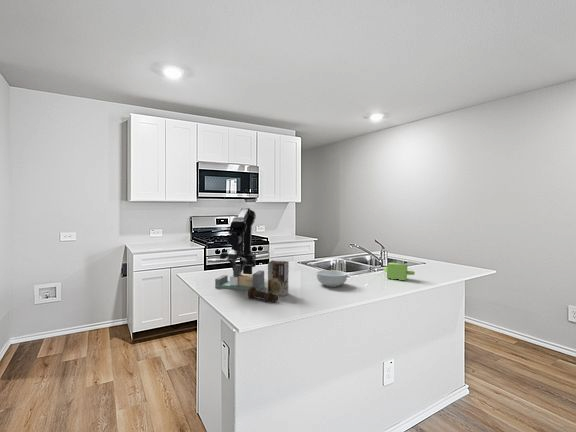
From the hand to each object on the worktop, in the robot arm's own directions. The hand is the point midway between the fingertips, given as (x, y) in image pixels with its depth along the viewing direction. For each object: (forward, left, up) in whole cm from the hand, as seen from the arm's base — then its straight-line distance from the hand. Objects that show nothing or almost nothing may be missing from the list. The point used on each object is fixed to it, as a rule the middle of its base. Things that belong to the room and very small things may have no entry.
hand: (237, 272), depth 175 cm
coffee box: (+6, +24, -8) cm, 26 cm away
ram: (0, 0, -6) cm, 6 cm away
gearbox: (-47, +86, -8) cm, 99 cm away
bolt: (+18, +21, -8) cm, 29 cm away
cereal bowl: (-19, +48, -8) cm, 53 cm away
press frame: (0, +1, -8) cm, 8 cm away
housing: (0, +6, -6) cm, 9 cm away
